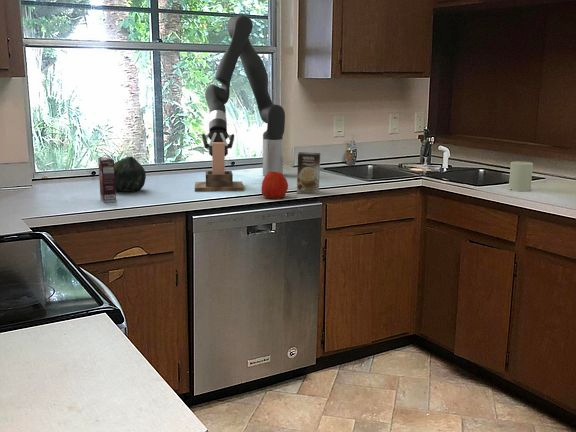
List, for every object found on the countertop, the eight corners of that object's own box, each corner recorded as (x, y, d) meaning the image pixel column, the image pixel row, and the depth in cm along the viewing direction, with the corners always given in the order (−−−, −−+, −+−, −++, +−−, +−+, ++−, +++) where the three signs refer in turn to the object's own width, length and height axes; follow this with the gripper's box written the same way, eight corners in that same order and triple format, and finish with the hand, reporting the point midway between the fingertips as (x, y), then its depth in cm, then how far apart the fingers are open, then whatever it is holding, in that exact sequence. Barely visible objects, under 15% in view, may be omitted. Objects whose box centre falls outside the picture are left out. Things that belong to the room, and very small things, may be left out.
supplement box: (99, 198, 243) (97, 157, 239) (112, 198, 245) (110, 156, 241) (103, 203, 235) (101, 160, 231) (116, 202, 237) (114, 159, 233)
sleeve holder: (241, 184, 277) (241, 169, 275) (243, 191, 262) (243, 175, 261) (195, 185, 274) (195, 170, 273) (194, 191, 260) (194, 175, 258)
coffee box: (296, 193, 259) (296, 153, 255) (297, 190, 265) (298, 152, 261) (318, 194, 258) (319, 154, 254) (319, 191, 264) (320, 152, 260)
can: (530, 188, 277) (533, 161, 274) (531, 192, 268) (533, 163, 265) (508, 187, 280) (510, 159, 277) (508, 190, 271) (510, 162, 268)
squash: (104, 174, 264) (108, 150, 253) (141, 174, 270) (146, 150, 259) (108, 202, 257) (112, 178, 246) (146, 201, 263) (151, 177, 252)
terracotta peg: (224, 175, 270) (224, 142, 267) (224, 177, 265) (224, 143, 262) (212, 175, 269) (212, 142, 266) (212, 177, 264) (212, 143, 261)
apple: (291, 196, 252) (292, 170, 250) (280, 201, 243) (280, 173, 241) (268, 194, 256) (268, 168, 254) (256, 198, 247) (256, 171, 245)
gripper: (200, 117, 268) (201, 149, 259) (234, 117, 270) (236, 149, 261) (201, 129, 275) (201, 160, 266) (234, 129, 276) (235, 160, 267)
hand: (218, 154), depth 263 cm, fingers closed on terracotta peg, 5 cm apart
